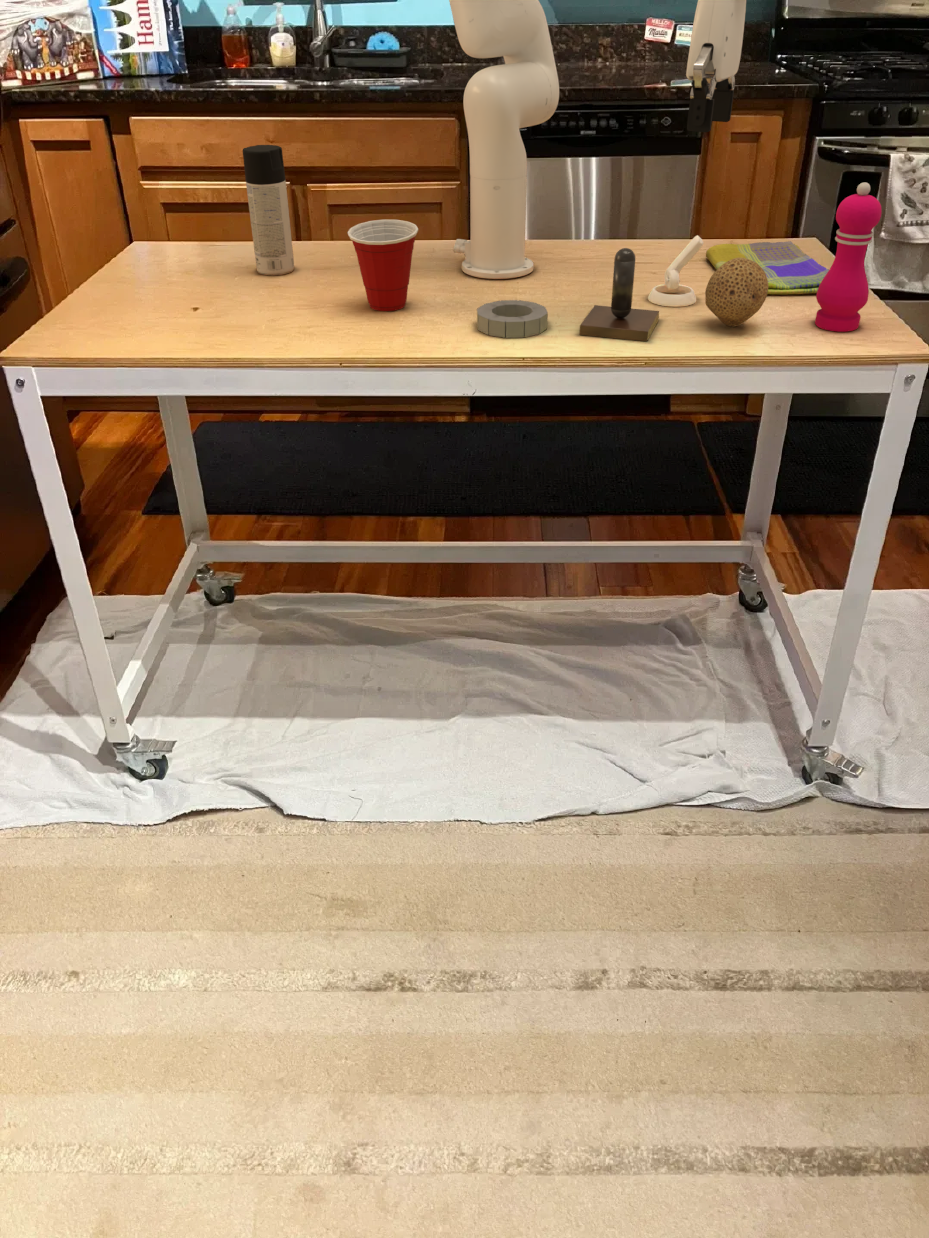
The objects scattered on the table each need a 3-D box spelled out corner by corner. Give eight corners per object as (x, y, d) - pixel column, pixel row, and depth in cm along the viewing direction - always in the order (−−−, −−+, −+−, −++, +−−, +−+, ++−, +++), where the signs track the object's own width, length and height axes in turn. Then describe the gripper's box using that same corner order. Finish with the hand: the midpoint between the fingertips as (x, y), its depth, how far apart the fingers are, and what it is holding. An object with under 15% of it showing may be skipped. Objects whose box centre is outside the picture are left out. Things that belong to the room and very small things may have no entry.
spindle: (579, 335, 149) (583, 254, 142) (593, 314, 157) (598, 237, 150) (647, 341, 146) (654, 260, 140) (658, 320, 154) (666, 242, 147)
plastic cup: (341, 313, 158) (334, 233, 152) (369, 293, 167) (365, 217, 160) (405, 320, 155) (401, 239, 148) (431, 300, 164) (428, 222, 157)
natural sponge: (760, 339, 146) (771, 269, 141) (698, 334, 149) (706, 265, 143) (762, 320, 154) (773, 252, 148) (703, 315, 156) (711, 248, 150)
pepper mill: (854, 336, 147) (885, 190, 136) (805, 328, 150) (831, 184, 139) (867, 322, 152) (898, 180, 141) (819, 315, 155) (845, 175, 144)
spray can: (302, 269, 179) (290, 146, 168) (277, 278, 175) (263, 152, 163) (274, 264, 182) (260, 143, 171) (248, 273, 178) (232, 149, 166)
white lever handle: (735, 273, 156) (704, 249, 153) (681, 332, 163) (650, 310, 159) (722, 250, 161) (692, 227, 158) (670, 308, 168) (640, 286, 165)
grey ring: (465, 331, 150) (465, 315, 149) (495, 312, 158) (495, 296, 157) (529, 342, 146) (529, 325, 145) (557, 321, 154) (557, 305, 153)
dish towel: (734, 297, 163) (737, 279, 162) (702, 257, 184) (704, 241, 182) (842, 295, 164) (845, 277, 162) (798, 255, 184) (801, 239, 182)
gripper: (716, -21, 140) (700, 116, 150) (677, -16, 127) (663, 133, 137) (770, -20, 137) (751, 119, 147) (736, -15, 124) (717, 138, 134)
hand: (708, 126), depth 142 cm, fingers open, 9 cm apart
